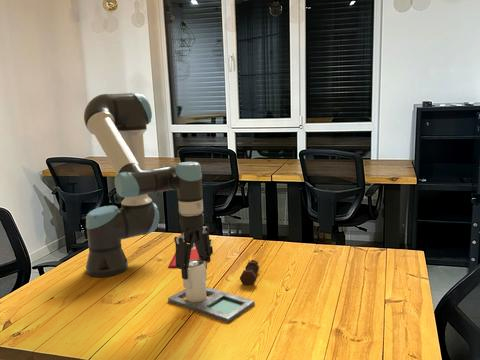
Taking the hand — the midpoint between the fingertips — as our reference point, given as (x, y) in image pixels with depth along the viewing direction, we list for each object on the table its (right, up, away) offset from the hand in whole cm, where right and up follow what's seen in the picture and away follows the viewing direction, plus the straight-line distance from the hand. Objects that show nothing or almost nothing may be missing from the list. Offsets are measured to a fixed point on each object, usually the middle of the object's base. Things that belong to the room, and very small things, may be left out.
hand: (195, 283), depth 140 cm
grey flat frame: (+5, -5, -3) cm, 8 cm away
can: (0, -5, +1) cm, 5 cm away
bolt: (+18, -2, +16) cm, 24 cm away
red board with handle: (-5, +2, +41) cm, 42 cm away
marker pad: (+10, -6, -6) cm, 13 cm away
